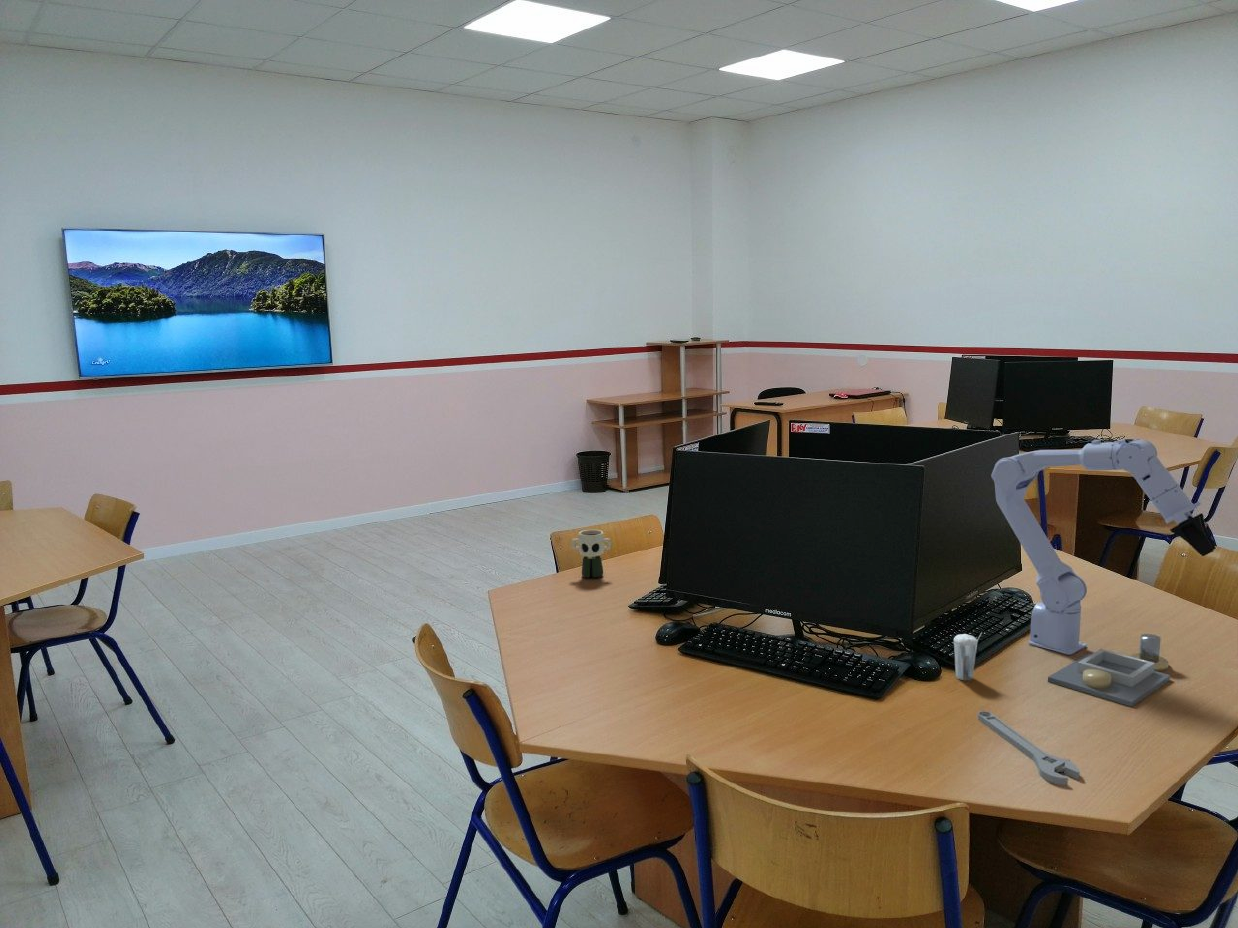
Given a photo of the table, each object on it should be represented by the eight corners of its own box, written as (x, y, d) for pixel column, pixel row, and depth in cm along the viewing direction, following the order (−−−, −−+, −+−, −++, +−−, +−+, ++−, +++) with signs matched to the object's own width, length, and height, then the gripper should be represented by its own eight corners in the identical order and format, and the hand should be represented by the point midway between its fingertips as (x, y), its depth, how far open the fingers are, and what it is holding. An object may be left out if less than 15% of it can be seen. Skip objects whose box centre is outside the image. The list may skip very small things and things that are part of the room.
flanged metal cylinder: (1123, 664, 194) (1125, 636, 193) (1137, 655, 198) (1139, 628, 197) (1159, 674, 189) (1161, 645, 188) (1173, 665, 193) (1175, 637, 192)
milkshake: (982, 682, 187) (983, 636, 186) (954, 681, 188) (955, 634, 187) (978, 673, 192) (980, 628, 190) (950, 672, 193) (952, 626, 191)
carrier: (1047, 681, 187) (1048, 667, 186) (1088, 657, 198) (1089, 644, 198) (1131, 706, 175) (1132, 691, 174) (1170, 679, 186) (1171, 665, 185)
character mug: (572, 580, 264) (570, 535, 261) (575, 572, 271) (573, 529, 268) (610, 579, 263) (608, 535, 260) (612, 572, 270) (611, 529, 267)
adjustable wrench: (973, 719, 173) (974, 710, 173) (1006, 716, 174) (1006, 707, 173) (1050, 787, 148) (1051, 777, 148) (1088, 784, 149) (1089, 773, 149)
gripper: (1181, 482, 176) (1228, 543, 172) (1187, 482, 188) (1231, 539, 184) (1146, 502, 180) (1191, 562, 175) (1154, 500, 192) (1196, 557, 187)
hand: (1209, 552), depth 180 cm, fingers open, 7 cm apart
